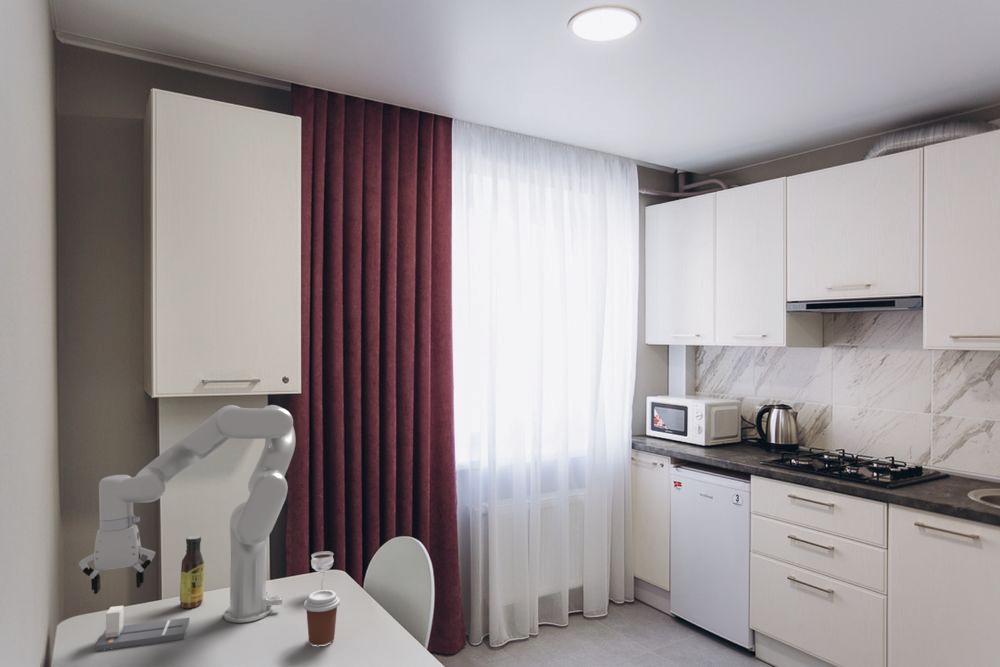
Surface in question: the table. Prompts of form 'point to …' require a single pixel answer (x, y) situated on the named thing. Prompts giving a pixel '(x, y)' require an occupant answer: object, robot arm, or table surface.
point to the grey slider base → (146, 634)
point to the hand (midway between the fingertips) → (118, 588)
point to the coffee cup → (321, 616)
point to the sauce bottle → (192, 574)
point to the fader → (114, 621)
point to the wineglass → (322, 562)
